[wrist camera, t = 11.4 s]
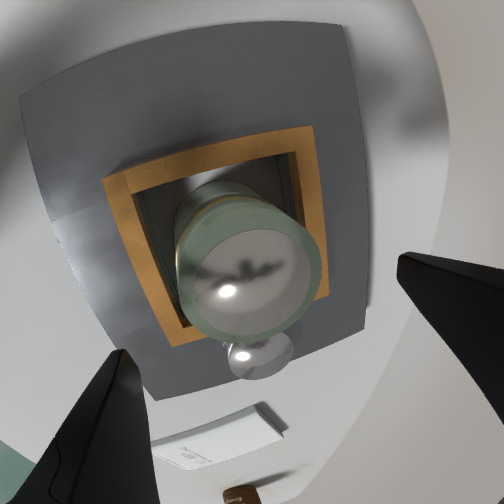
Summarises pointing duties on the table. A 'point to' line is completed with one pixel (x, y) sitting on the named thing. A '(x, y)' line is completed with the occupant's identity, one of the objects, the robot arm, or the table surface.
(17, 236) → the table surface
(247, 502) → the utensil holder
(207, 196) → the can
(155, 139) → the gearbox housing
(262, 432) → the external hard drive
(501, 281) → the robot arm
